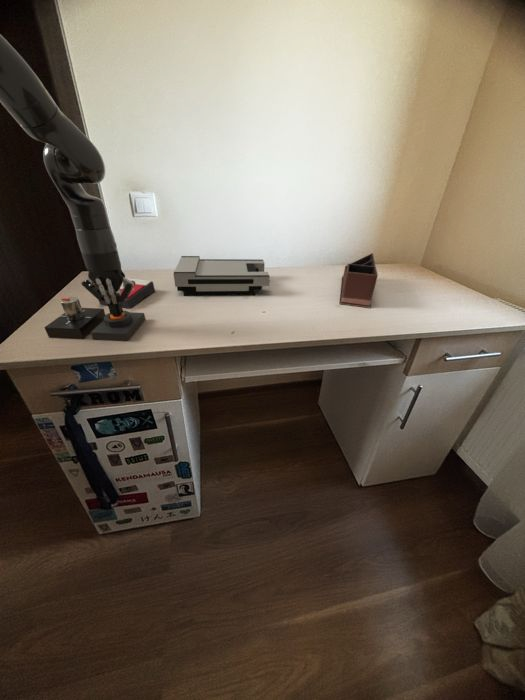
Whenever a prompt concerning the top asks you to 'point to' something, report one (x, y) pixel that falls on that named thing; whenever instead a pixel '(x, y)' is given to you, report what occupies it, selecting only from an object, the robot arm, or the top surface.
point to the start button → (117, 317)
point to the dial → (72, 308)
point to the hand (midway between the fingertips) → (117, 315)
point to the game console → (219, 276)
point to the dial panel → (75, 324)
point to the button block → (118, 327)
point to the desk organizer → (359, 282)
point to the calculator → (135, 293)
